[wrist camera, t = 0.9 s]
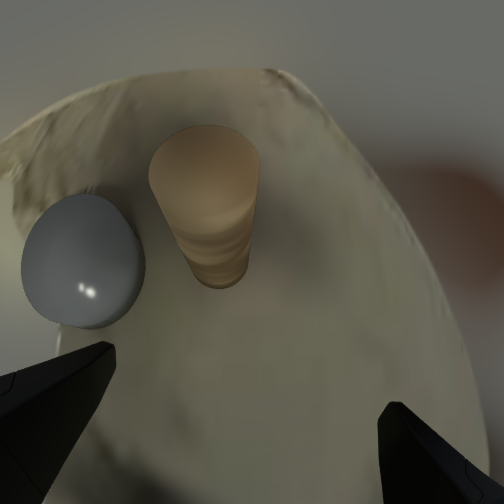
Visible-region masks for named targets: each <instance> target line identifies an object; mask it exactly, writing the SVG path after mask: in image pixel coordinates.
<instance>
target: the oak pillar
mask: <svg viewBox="0 0 504 504" xmlns="http://www.w3.org/2000/svg"><path fill="white" fill-rule="evenodd" d="M259 173H260V161H259V156H258V154H257V151H256V149H255V147H254V146H253V145H252V143H251V142H250V141H249V140H248V139H247V138H246V137H244V136H243V135H242V134H240V133H238V132H237V131H235V130H232V129H230V128H226V127H223V126H217V125H201V126H195V127H190V128H187V129H184V130H182V131H180V132H178V133H176V134H174V135H172V136H171V137H170V138H168V139H167V140H166V141H165V142H163V143H162V144H161V146H160V147H159V148H158V149H157V151H156V152H155V154H154V155H153V157H152V160H151V162H150V166H149V174H148V177H149V183H150V187H151V189H152V191H153V193H154V196H155V198H156V200H157V202H158V204H159V206H160V208H161V210H162V212H163V214H164V217H165V219H166V221H167V223H168V225H169V227H170V229H171V231H172V233H173V235H174V237H175V239H176V241H177V243H178V245H179V247H180V249H181V251H182V253H183V255H184V256H185V258H186V260H187V262H188V264H189V266H190V268H191V270H192V272H193V274H194V276H195V277H196V278H197V280H198V281H199V282H201V283H202V284H203V285H205V286H207V287H210V288H214V289H224V288H228V287H231V286H233V285H235V284H236V283H237V282H239V281H240V280H241V279H242V277H243V276H244V274H245V272H246V270H247V267H248V259H249V251H250V244H251V236H252V228H253V220H254V212H255V204H256V197H257V189H258V181H259Z"/></svg>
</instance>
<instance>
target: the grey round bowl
mask: <svg viewBox="0 0 504 504" xmlns="http://www.w3.org/2000/svg"><path fill="white" fill-rule="evenodd" d="M21 276H22V283H23V287H24V290H25V293H26V296H27V298H28V300H29V302H30V303H31V305H32V306H33V307H34V309H35V310H36V311H37V312H38V313H39V314H40V315H42V316H43V317H45V318H46V319H48V320H50V321H53V322H56V323H60V324H64V325H69V326H73V327H77V328H82V329H99V328H103V327H106V326H109V325H111V324H113V323H114V322H116V321H117V320H119V319H120V318H122V317H123V316H124V315H125V314H126V313H127V312H128V311H129V309H130V308H131V307H132V306H133V304H134V302H135V301H136V299H137V297H138V295H139V293H140V291H141V288H142V285H143V281H144V276H145V256H144V251H143V247H142V244H141V242H140V240H139V238H138V236H137V235H136V233H135V232H134V230H133V229H132V228H131V226H130V225H129V224H128V223H127V221H126V220H125V219H124V217H123V216H122V215H121V213H120V212H119V211H118V209H117V208H116V207H115V206H114V205H113V204H112V203H111V202H109V201H108V200H106V199H105V198H102V197H100V196H97V195H93V194H78V195H73V196H70V197H67V198H64V199H62V200H60V201H59V202H57V203H55V204H54V205H53V206H51V207H50V208H49V209H48V210H47V211H46V212H45V213H44V214H43V215H42V216H41V217H40V218H39V219H38V221H37V222H36V223H35V225H34V226H33V228H32V230H31V232H30V234H29V236H28V238H27V240H26V243H25V246H24V250H23V255H22V262H21Z"/></svg>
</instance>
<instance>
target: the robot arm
mask: <svg viewBox="0 0 504 504" xmlns="http://www.w3.org/2000/svg"><path fill="white" fill-rule="evenodd" d="M115 369H116V351H115V346H114V345H113V344H111V343H108V342H106V341H101V342H98V343H95V344H93V345H90V346H87V347H84V348H81V349H79V350H76V351H73V352H70V353H68V354H65V355H62V356H59V357H56V358H53V359H51V360H48V361H45V362H42V363H39V364H36V365H33V366H30V367H27V368H24V369H21V370H18V371H17V372H13V373H9V374H6V375H3V376H0V504H42V502H43V500H44V499H45V496H46V495H47V493H48V491H49V489H50V487H51V485H52V484H53V482H54V480H55V478H56V476H57V475H58V473H59V471H60V469H61V468H62V466H63V464H64V462H65V461H66V459H67V457H68V456H69V454H70V452H71V450H72V449H73V447H74V445H75V444H76V442H77V440H78V439H79V437H80V435H81V434H82V432H83V430H84V429H85V427H86V425H87V424H88V422H89V420H90V419H91V417H92V416H93V414H94V412H95V411H96V409H97V407H98V405H99V403H100V401H101V399H102V397H103V395H104V393H105V391H106V388H107V386H108V384H109V382H110V380H111V378H112V376H113V374H114V372H115ZM377 426H378V453H379V467H380V474H381V483H382V492H383V502H384V504H504V487H503V486H501V485H500V484H499V483H497V482H496V481H494V480H493V479H491V478H490V477H489V476H487V475H486V474H484V473H483V472H482V471H480V470H479V469H478V468H477V467H475V466H474V465H473V464H472V463H471V462H470V461H468V460H467V459H465V457H464V456H463V455H461V454H460V453H459V452H458V451H457V450H456V449H454V448H453V447H452V446H451V445H450V444H449V443H448V442H446V441H445V440H444V439H443V438H442V437H441V436H439V435H438V434H437V433H436V432H435V431H434V430H433V429H431V428H430V427H429V426H428V425H427V424H426V423H425V422H423V421H422V420H421V419H420V418H419V417H418V416H417V415H415V414H414V413H413V412H412V411H411V410H410V409H409V408H408V407H406V406H405V405H404V404H403V403H402V402H395V401H392V402H389V403H388V405H387V406H386V408H385V409H384V411H383V412H382V414H381V415H380V417H379V419H378V423H377Z"/></svg>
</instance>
